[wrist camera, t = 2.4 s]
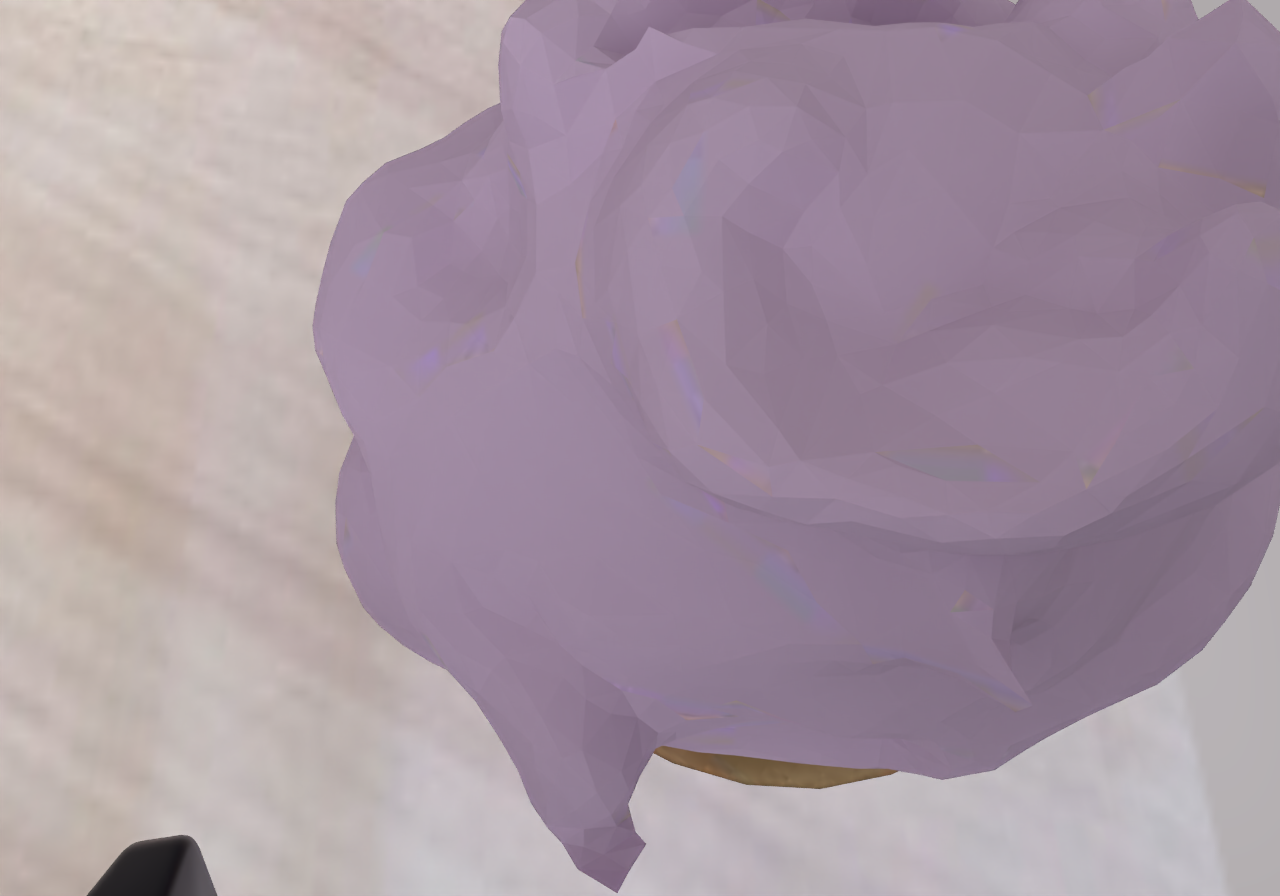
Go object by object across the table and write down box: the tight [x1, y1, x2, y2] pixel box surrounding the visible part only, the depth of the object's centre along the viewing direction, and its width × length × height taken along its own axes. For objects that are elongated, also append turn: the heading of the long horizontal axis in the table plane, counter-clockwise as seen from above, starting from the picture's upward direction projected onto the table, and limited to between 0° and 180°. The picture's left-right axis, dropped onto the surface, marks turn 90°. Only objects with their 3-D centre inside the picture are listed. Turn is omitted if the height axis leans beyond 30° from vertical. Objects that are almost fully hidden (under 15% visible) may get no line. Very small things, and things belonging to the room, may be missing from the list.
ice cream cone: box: [313, 0, 1280, 893], centre depth 12 cm, size 7×6×15 cm
